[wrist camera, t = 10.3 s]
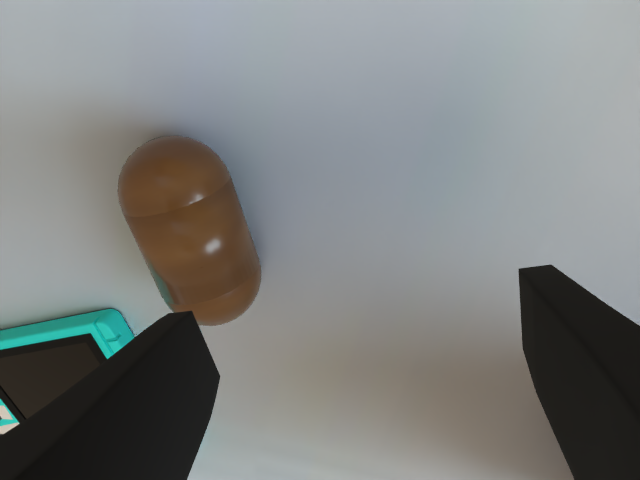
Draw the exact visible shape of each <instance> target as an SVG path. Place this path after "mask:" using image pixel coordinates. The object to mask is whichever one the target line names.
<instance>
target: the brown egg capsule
mask: <svg viewBox="0 0 640 480" xmlns="http://www.w3.org/2000/svg"><path fill="white" fill-rule="evenodd" d="M118 198H119V204H120V207H121V209H122V212H123V214H124V217H125V219H126V221H127V223H128V225H129V227H130V229H131V232H132V234H133V236H134V238H135V240H136V242H137V244H138V247H139V249H140V251H141V253H142V255H143V257H144V259H145V262H146V264H147V266H148V268H149V270H150V272H151V274H152V277H153V279H154V281H155V283H156V285H157V287H158V289H159V292H160V294H161V296H162V298H163V299H164V301H165V302H166V304H167V306H168V307H169V308H170V309H171V310H172V311H173V312H174V313H177V312H184V311H192V312H193V314H194V317H195V319H196V321H197V324H198V325H202V326H216V325H221V324H225V323H228V322H230V321H232V320H234V319H236V318H238V317H239V316H240V315H242V314H243V313H244V312H245V311H246V310H247V309H248V308H249V307H250V305H251V304H252V303H253V301H254V299H255V297H256V295H257V294H258V291H259V287H260V283H261V266H260V262H259V258H258V255H257V252H256V249H255V246H254V243H253V240H252V237H251V234H250V232H249V229H248V226H247V223H246V220H245V217H244V214H243V211H242V208H241V205H240V203H239V200H238V197H237V194H236V191H235V188H234V185H233V182H232V179H231V176H230V174H229V172H228V170H227V167H226V165H225V164H224V163H223V161H222V160H221V159H220V157H219V156H218V155H217V154H216V153H215V152H214V151H213V150H212V149H211V148H209V147H208V146H206V145H205V144H203V143H201V142H199V141H197V140H194V139H191V138H188V137H182V136H164V137H159V138H156V139H153V140H150V141H148V142H146V143H145V144H143V145H142V146H140V147H138V148H137V149H136V150H135V151H134V152H133V153H132V154H131V155H130V156H129V157H128V159H127V161H126V162H125V164H124V165H123V167H122V170H121V173H120V176H119V182H118Z"/></svg>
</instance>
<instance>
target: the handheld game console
mask: <svg viewBox="0 0 640 480" xmlns="http://www.w3.org/2000/svg"><path fill="white" fill-rule="evenodd" d="M132 339H134V336H133V334H132V332H131V331H130V329H129V327H128V326H127V324H126V322H125V320H124V319H123V317H122V315H121V314H120V313H119V312H118V311H117V310H114V309H106V310H101V311H96V312H91V313H86V314H81V315H76V316H71V317H66V318H61V319H56V320H51V321H46V322H41V323H36V324H31V325H26V326H21V327H16V328H11V329H6V330H1V331H0V436H1V435H3V434H4V433H6V432H8V431H9V430H11V429H12V428H14V427H15V426H17V425H18V424H20V423H21V422H23V421H24V420H26V419H27V418H29V417H30V416H32V415H33V414H35V413H36V412H38V411H39V410H41V409H42V408H43V407H45V406H46V405H48V404H49V403H50V402H52V401H53V400H54V399H56V398H57V397H58V396H60V395H61V394H62V393H64V392H65V391H66V390H68V389H69V388H70V387H72V386H73V385H75V384H76V383H77V382H79V381H80V380H81V379H83V378H84V377H85V376H87V375H88V374H89V373H91V372H92V371H93V370H94V369H96V368H97V367H98V366H100V365H101V364H102V363H103V362H105V361H106V360H107V359H108V358H110V357H111V356H112V355H113V354H115V353H116V352H117V351H119V350H120V349H121V348H122V347H124V346H125V345H126V344H127V343H129V342H130V341H131V340H132Z"/></svg>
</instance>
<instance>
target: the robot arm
mask: <svg viewBox="0 0 640 480" xmlns="http://www.w3.org/2000/svg"><path fill="white" fill-rule="evenodd" d="M519 286H520V305H521V323H522V342H523V350H524V354H525V357H526V360H527V364H528V367H529V371H530V374H531V377H532V380H533V383H534V387H535V390H536V393H537V395H538V398H539V400H540V402H541V405H542V407H543V409H544V411H545V414H546V416H547V418H548V420H549V423H550V425H551V427H552V430H553V432H554V434H555V436H556V439H557V441H558V443H559V445H560V448H561V450H562V452H563V454H564V457H565V459H566V461H567V463H568V466H569V468H570V470H571V472H572V475H573V477H574V479H575V480H640V326H639V325H637V324H636V323H634V322H633V321H631V320H630V319H628V318H627V317H625V316H624V315H622V314H621V313H619V312H618V311H616V310H615V309H613V308H612V307H610V306H609V305H607V304H606V303H604V302H603V301H601V300H600V299H598V298H597V297H596V296H594V295H593V294H591V293H590V292H589V291H587V290H586V289H584V288H583V287H582V286H580V285H579V284H577V283H576V282H575V281H573V280H572V279H571V278H569V277H568V276H566V275H565V274H564V273H562V272H561V271H559V270H558V269H557V268H555V267H554V266H552V265H545V266H537V267H529V268H521V269H519ZM219 380H220V375H219V372H218V370H217V368H216V365H215V363H214V361H213V359H212V356H211V354H210V352H209V349H208V347H207V345H206V342H205V340H204V338H203V335H202V333H201V331H200V328H199V326H198V324H197V321H196V319H195V317H194V314H193V312H192V311H184V312H177V313H169V314H167V315H165V316H164V317H162V318H161V319H159V320H158V321H156V322H155V323H154V324H152V325H151V326H149V327H148V328H147V329H145V330H144V331H143V332H141V333H140V334H139V335H138V336H136V337H135V338H134V339H132V340H131V341H130V342H129V343H127V344H126V345H125V346H124V347H122V348H121V349H120V350H119V351H117V352H116V353H115V354H113V355H112V356H111V357H110V358H108V359H107V360H106V361H105V362H103V363H102V364H101V365H100V366H98V367H97V368H96V369H94V370H93V371H92V372H91V373H89V374H88V375H87V376H85V377H84V378H83V379H81V380H80V381H79V382H77V383H76V384H75V385H73V386H72V387H70V388H69V389H68V390H66V391H65V392H64V393H62V394H61V395H60V396H58V397H57V398H56V399H54V400H53V401H52V402H50V403H49V404H48V405H46V406H45V407H43V408H42V409H41V410H39V411H38V412H36V413H35V414H33V415H32V416H30V417H29V418H27V419H26V420H24V421H23V422H21V423H20V424H18V425H17V426H15V427H14V428H12V429H11V430H9V431H8V432H6V433H4V434H3V435H1V436H0V480H187V478H188V475H189V473H190V470H191V468H192V465H193V462H194V460H195V457H196V455H197V452H198V450H199V447H200V444H201V442H202V439H203V437H204V434H205V431H206V429H207V426H208V423H209V420H210V418H211V414H212V410H213V406H214V402H215V398H216V394H217V389H218V384H219Z"/></svg>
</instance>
